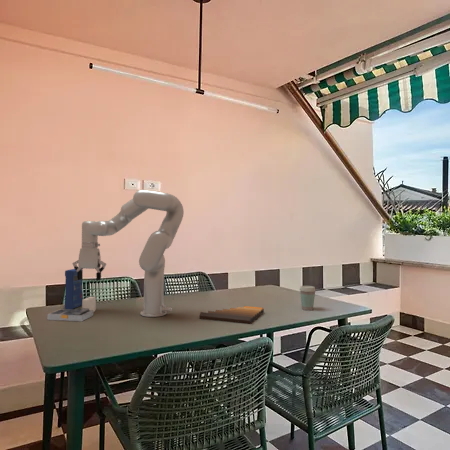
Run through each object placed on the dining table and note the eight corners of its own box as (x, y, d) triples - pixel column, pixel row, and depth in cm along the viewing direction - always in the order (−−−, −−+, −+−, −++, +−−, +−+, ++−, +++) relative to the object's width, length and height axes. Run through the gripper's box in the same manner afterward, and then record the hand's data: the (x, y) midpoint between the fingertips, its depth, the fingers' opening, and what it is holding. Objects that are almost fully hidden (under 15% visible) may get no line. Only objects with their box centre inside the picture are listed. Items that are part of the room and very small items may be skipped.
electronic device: (72, 309, 196) (73, 270, 196) (63, 308, 197) (64, 270, 197) (83, 305, 205) (83, 268, 205) (74, 305, 206) (74, 268, 206)
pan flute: (199, 320, 180) (249, 325, 171) (199, 312, 180) (250, 317, 171) (218, 309, 203) (263, 313, 194) (218, 302, 203) (263, 306, 194)
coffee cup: (317, 308, 205) (317, 286, 205) (313, 311, 198) (314, 288, 198) (301, 306, 209) (301, 285, 209) (297, 309, 201) (297, 287, 201)
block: (95, 310, 194) (95, 296, 194) (88, 314, 186) (88, 299, 186) (89, 310, 195) (90, 296, 195) (82, 314, 187) (82, 299, 187)
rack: (93, 315, 183) (93, 308, 183) (81, 321, 172) (81, 313, 172) (60, 314, 185) (60, 306, 185) (46, 319, 174) (47, 312, 174)
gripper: (109, 245, 193) (108, 279, 193) (77, 245, 195) (76, 278, 195) (102, 246, 186) (102, 281, 186) (69, 245, 188) (68, 280, 188)
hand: (89, 279), depth 190 cm, fingers open, 9 cm apart
